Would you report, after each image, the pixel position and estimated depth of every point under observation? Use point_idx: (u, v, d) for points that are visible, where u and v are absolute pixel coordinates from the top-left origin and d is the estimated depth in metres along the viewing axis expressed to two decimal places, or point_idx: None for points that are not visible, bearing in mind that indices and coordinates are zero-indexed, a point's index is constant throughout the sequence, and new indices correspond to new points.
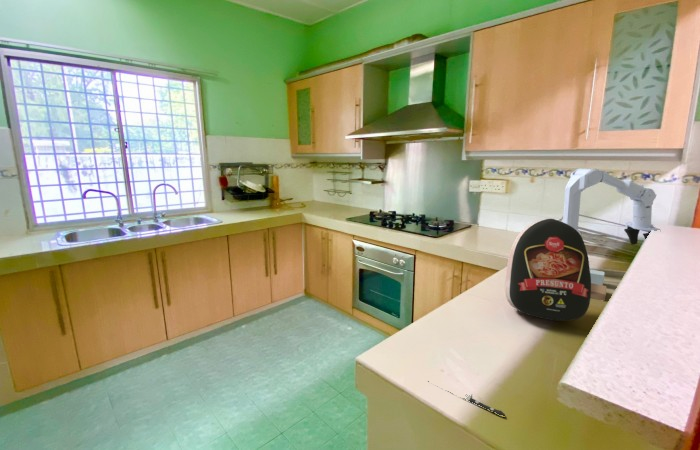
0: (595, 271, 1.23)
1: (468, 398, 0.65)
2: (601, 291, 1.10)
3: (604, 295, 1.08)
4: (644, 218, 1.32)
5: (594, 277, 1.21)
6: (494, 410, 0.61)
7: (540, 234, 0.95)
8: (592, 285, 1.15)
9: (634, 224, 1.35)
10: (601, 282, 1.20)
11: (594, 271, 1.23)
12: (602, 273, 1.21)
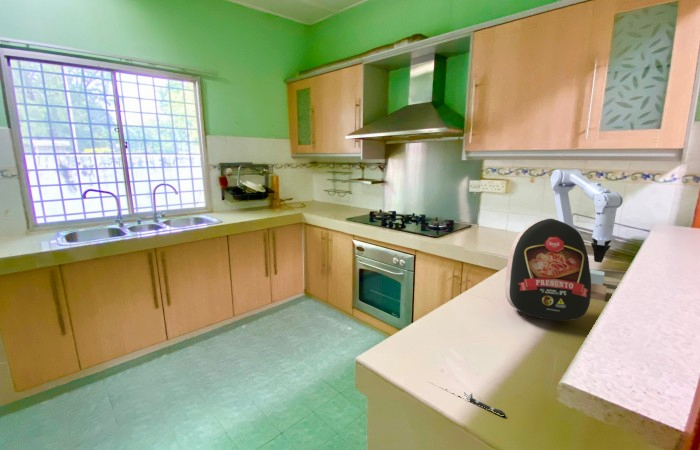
0: (595, 271, 1.23)
1: (468, 398, 0.65)
2: (601, 291, 1.10)
3: (604, 295, 1.08)
4: (599, 226, 1.17)
5: (594, 277, 1.21)
6: (494, 410, 0.61)
7: (540, 234, 0.95)
8: (592, 285, 1.15)
9: None
10: (601, 282, 1.20)
11: (594, 271, 1.23)
12: (602, 273, 1.21)
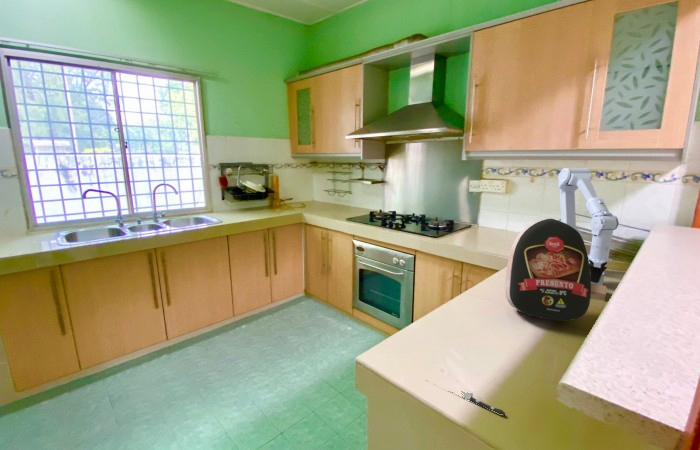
0: None
1: (468, 397, 0.65)
2: (601, 291, 1.10)
3: (604, 295, 1.08)
4: (595, 248, 1.19)
5: None
6: (494, 409, 0.61)
7: (540, 234, 0.95)
8: (592, 285, 1.15)
9: None
10: (601, 282, 1.20)
11: None
12: (602, 273, 1.21)
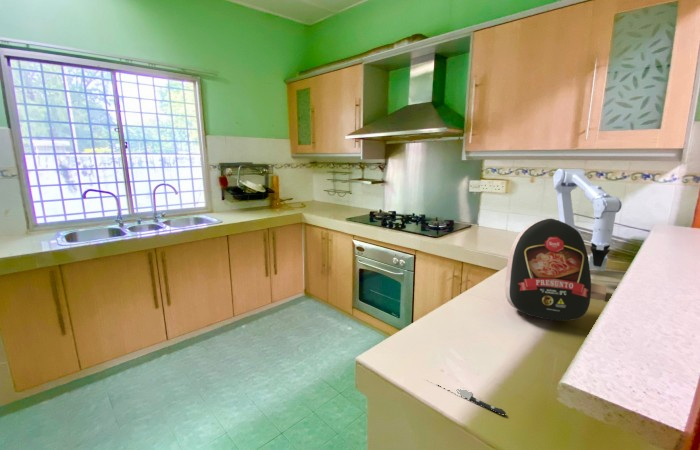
0: None
1: (469, 397, 0.65)
2: (601, 291, 1.10)
3: (604, 295, 1.08)
4: (598, 231, 1.17)
5: None
6: (495, 408, 0.61)
7: (540, 234, 0.95)
8: (592, 285, 1.15)
9: None
10: (604, 265, 1.17)
11: None
12: (605, 256, 1.19)
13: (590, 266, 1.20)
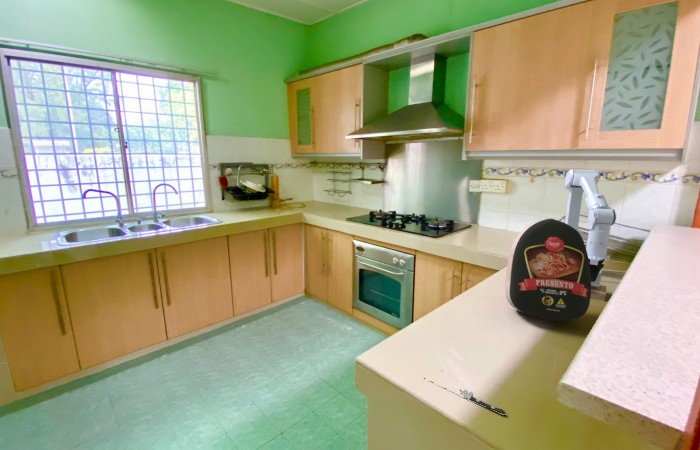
0: None
1: (469, 397, 0.65)
2: (601, 291, 1.10)
3: (604, 295, 1.08)
4: (592, 244, 1.10)
5: None
6: (495, 408, 0.62)
7: (540, 234, 0.95)
8: None
9: None
10: (598, 281, 1.10)
11: None
12: None
13: None
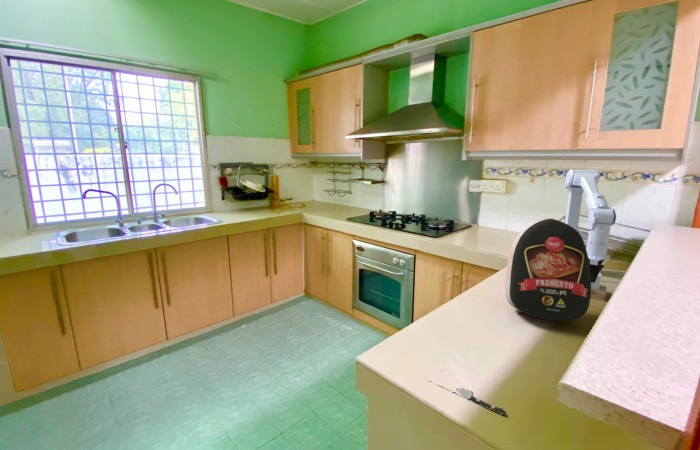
0: None
1: (469, 396, 0.65)
2: (601, 291, 1.10)
3: (604, 295, 1.08)
4: (592, 244, 1.10)
5: None
6: (495, 408, 0.62)
7: (540, 234, 0.95)
8: None
9: None
10: (598, 284, 1.11)
11: None
12: (599, 274, 1.12)
13: None
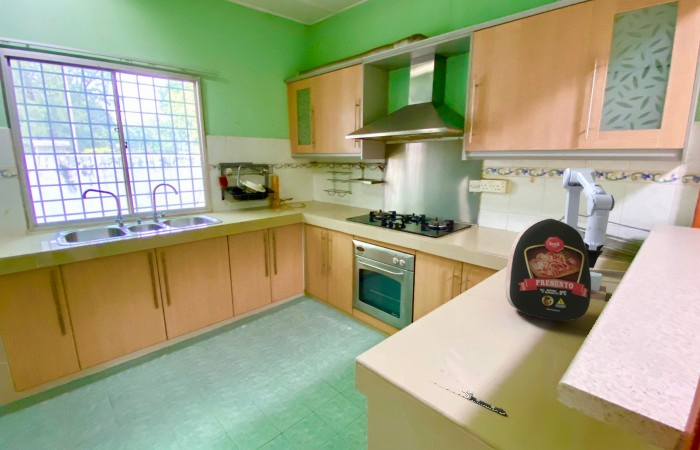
0: (592, 272, 1.14)
1: (469, 396, 0.65)
2: (601, 291, 1.10)
3: (604, 295, 1.08)
4: (591, 230, 1.11)
5: (591, 279, 1.12)
6: (495, 408, 0.62)
7: (540, 234, 0.95)
8: None
9: None
10: (598, 285, 1.11)
11: (591, 273, 1.13)
12: (599, 275, 1.12)
13: None
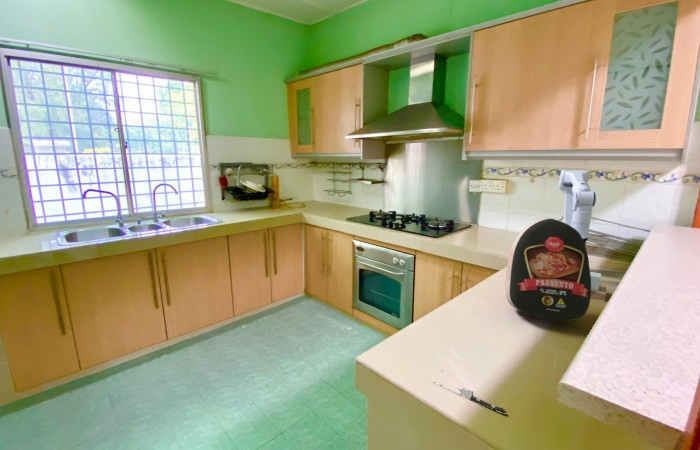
0: (591, 272, 1.14)
1: (469, 396, 0.65)
2: (601, 291, 1.10)
3: (604, 295, 1.08)
4: (575, 224, 1.19)
5: None
6: (495, 407, 0.62)
7: (540, 234, 0.95)
8: None
9: None
10: (597, 285, 1.11)
11: (590, 273, 1.13)
12: (598, 275, 1.12)
13: None
